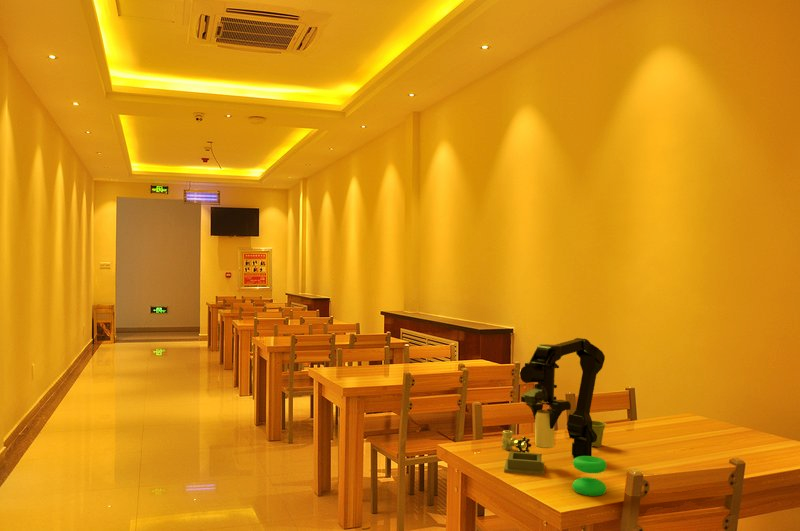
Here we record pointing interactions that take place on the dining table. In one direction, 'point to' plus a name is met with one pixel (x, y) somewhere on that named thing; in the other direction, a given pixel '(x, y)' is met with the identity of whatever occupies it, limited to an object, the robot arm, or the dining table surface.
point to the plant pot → (598, 432)
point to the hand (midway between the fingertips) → (544, 426)
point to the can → (543, 430)
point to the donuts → (589, 484)
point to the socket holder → (524, 463)
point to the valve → (514, 442)
